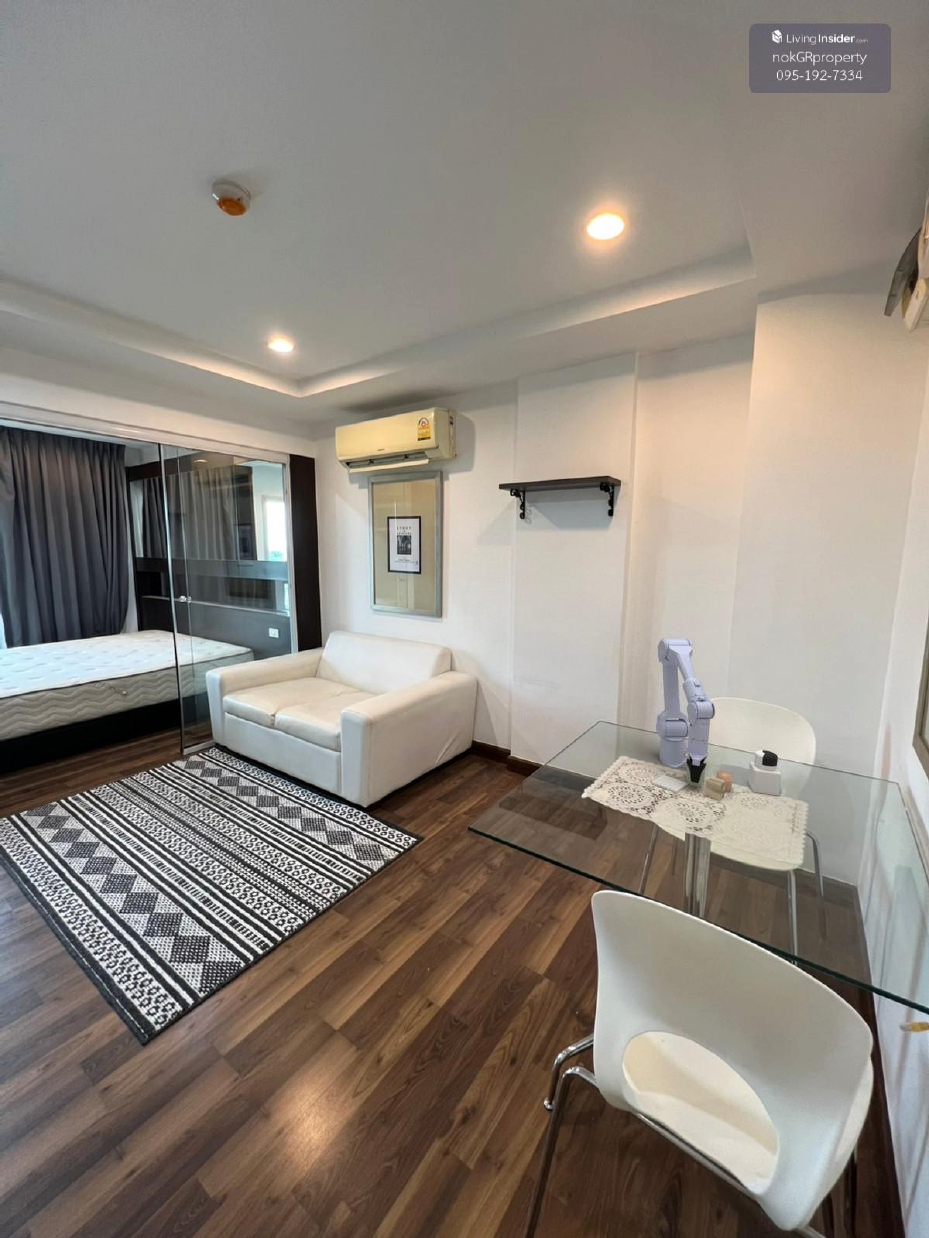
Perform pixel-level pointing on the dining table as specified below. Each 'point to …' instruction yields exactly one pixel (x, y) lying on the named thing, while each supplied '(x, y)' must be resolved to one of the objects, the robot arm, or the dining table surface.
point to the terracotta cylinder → (725, 779)
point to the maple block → (715, 788)
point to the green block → (693, 782)
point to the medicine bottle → (764, 773)
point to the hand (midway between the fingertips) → (695, 778)
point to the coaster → (669, 783)
